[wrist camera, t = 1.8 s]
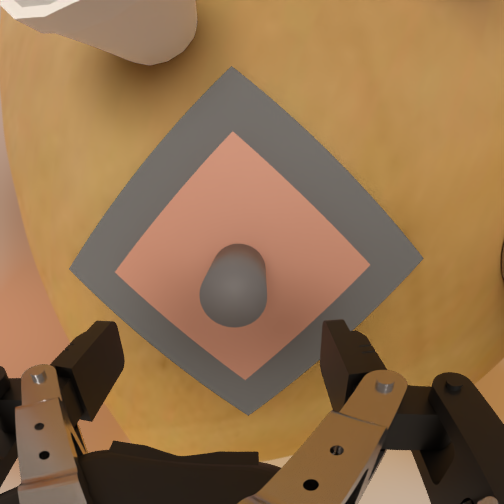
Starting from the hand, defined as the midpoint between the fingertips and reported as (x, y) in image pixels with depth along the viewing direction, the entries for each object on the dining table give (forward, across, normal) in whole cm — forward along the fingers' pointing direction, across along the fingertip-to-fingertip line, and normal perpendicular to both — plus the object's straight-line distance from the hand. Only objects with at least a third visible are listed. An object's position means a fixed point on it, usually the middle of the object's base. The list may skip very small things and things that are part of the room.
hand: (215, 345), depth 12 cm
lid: (+11, 0, 0) cm, 11 cm away
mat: (+12, 0, 0) cm, 12 cm away
